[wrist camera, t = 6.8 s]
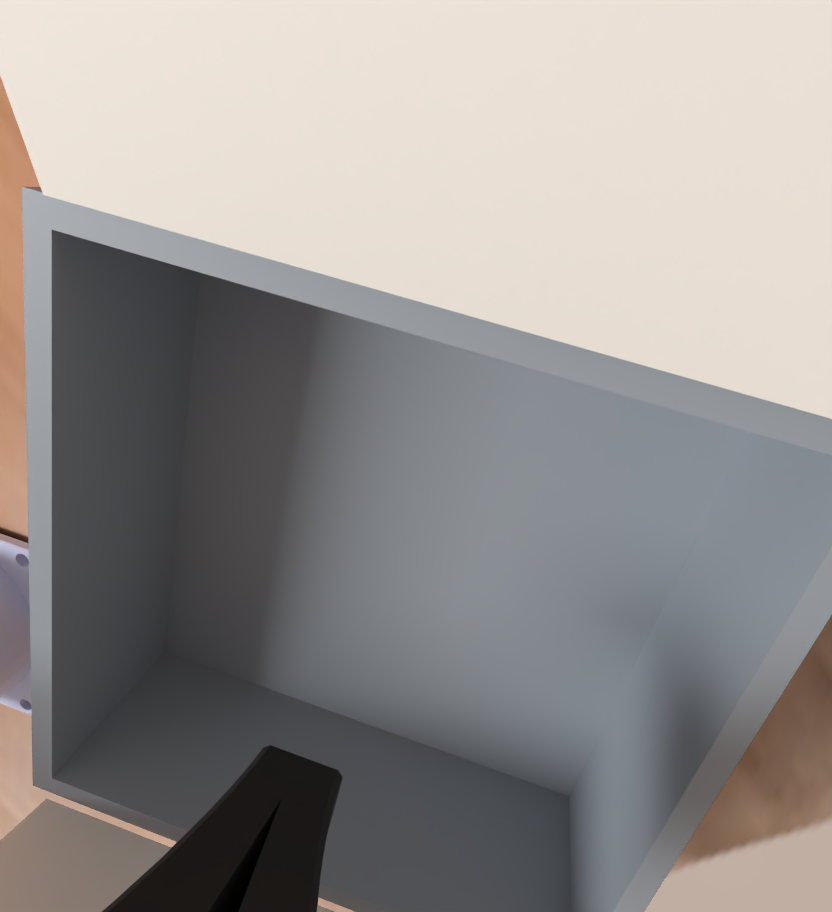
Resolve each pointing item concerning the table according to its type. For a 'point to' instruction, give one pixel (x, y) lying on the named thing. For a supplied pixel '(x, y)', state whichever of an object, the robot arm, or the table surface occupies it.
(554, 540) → the carton
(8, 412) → the table surface
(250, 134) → the front flap
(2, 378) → the table surface
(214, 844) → the robot arm
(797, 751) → the table surface
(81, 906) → the back flap
